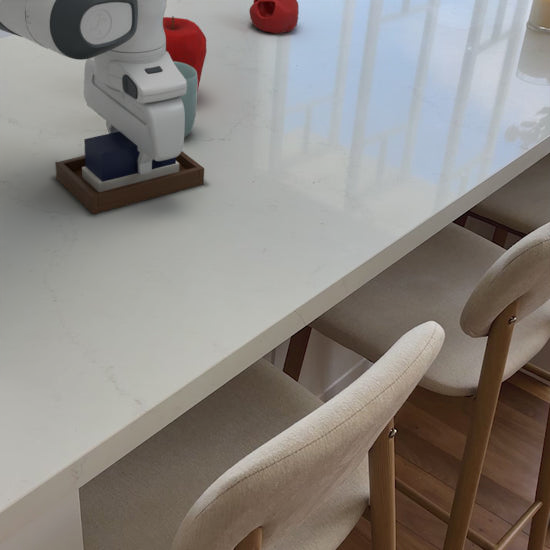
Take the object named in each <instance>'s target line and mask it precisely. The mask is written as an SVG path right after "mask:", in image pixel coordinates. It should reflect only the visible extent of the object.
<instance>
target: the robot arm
mask: <svg viewBox="0 0 550 550" xmlns="http://www.w3.org/2000/svg"><path fill="white" fill-rule="evenodd" d="M166 9H167V0H0V31H3V32H6V33H9V34H12V35H15V36H18V37H20V38H24V39H26V40H28V41H30V42H32V43H34V44H37V45H39V46H40V47H43V48H45V49H47V50H50V51H53V52H55V53H57V54H58V55H61V56H63V57H66V58H68V59H73V60H79V61H81V60H82V61H83V60H84V61H85V63H84V70H83V71H84V73H83V77H84V78H83V96H84V100H85V103H86V105H87V107H89V108H90V109H91V110H92V111H94V112H95V113H96V114H98V116H100V117H101V118H103V120H105V126H106V130H107V131H108V134H110V133H115V132H119V131H120V132H121V133H122V134H123V135H125V136H126V137H127V138H128V139H130V140H131V141H132V142H133V143H134V144H136V145H137V147H138V151H139V152H140V154H139V157H138V158H136V159H134V164H135V166H134V168H135V170H136V171H137V172H139V173H140V174H141V175H144V174H148V173H150V172H151V171H152V160H153V159H154V160H155V161H163V160H167V159H171V158H175V157H177V156H179V155H180V153H181V152H182V151H183V149H184V145H185V144H184V143H185V137H184V130H185V111H184V105H183V102H182V100H181V98H180V96H183V95H185V94H186V91H187V83H186V80H185V78H184V77H183V75H182V74H181V73H180V71H179V70H178V69H177V67H176V66H175V64H174V63H173V61H172V59H171V57H170V55H169V53H168V52H167V51H166V36H165V32H164V28H163V17H165V12H166Z"/></svg>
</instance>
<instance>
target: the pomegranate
mask: <svg viewBox="0 0 550 550" xmlns="http://www.w3.org/2000/svg"><path fill="white" fill-rule="evenodd" d="M299 13H300V11H299V2H298V0H253V3H252V5H251V6H250V7H249V13H248V14H249V19H250V21H251V23H252V25H254V26H255V27H256V28H257V29H259V30H260V31H262V32H265V33H272V34H284V33H287V32H291V31H292V30H294V29H295V28H296V27H297V25H298V21H299Z"/></svg>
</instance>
